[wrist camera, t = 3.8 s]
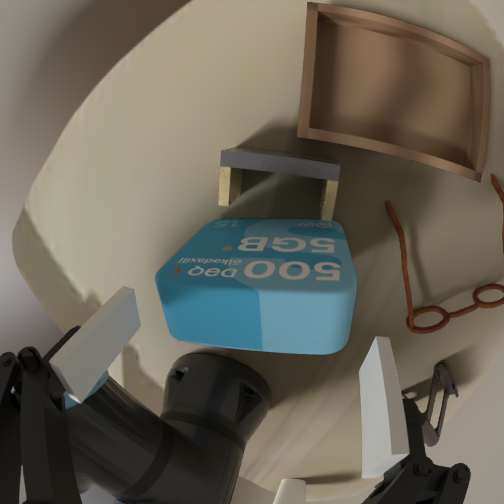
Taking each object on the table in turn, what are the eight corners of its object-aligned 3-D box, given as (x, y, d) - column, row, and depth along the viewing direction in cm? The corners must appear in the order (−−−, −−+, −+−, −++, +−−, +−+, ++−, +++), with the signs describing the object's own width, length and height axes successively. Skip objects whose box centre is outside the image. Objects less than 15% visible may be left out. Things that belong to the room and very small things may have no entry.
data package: (340, 219, 24) (362, 292, 13) (338, 264, 25) (349, 356, 15) (210, 218, 26) (144, 281, 15) (216, 261, 28) (161, 339, 17)
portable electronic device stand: (456, 386, 29) (469, 428, 22) (412, 408, 32) (419, 452, 25) (444, 357, 27) (462, 406, 20) (394, 385, 31) (402, 435, 23)
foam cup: (319, 482, 50) (313, 523, 38) (293, 487, 54) (286, 525, 42) (293, 474, 49) (285, 519, 37) (268, 479, 53) (258, 520, 41)
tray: (298, 136, 21) (296, 137, 19) (308, 15, 16) (307, 1, 14) (464, 176, 19) (480, 182, 16) (473, 64, 14) (489, 59, 11)
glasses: (401, 314, 27) (412, 344, 22) (383, 200, 22) (399, 217, 18) (494, 281, 22) (514, 304, 18) (492, 171, 18) (520, 181, 14)
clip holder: (226, 304, 30) (215, 327, 26) (235, 147, 23) (221, 150, 19) (305, 319, 29) (303, 344, 25) (335, 160, 21) (340, 165, 18)
